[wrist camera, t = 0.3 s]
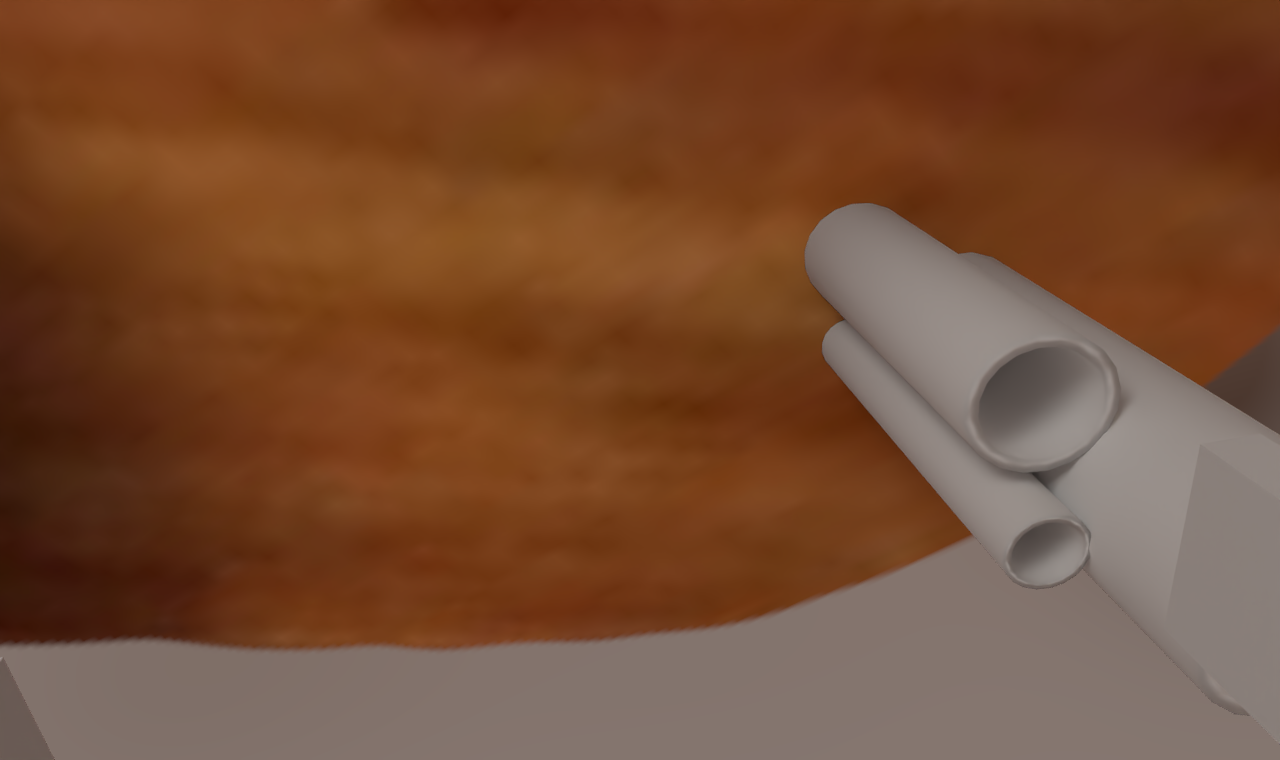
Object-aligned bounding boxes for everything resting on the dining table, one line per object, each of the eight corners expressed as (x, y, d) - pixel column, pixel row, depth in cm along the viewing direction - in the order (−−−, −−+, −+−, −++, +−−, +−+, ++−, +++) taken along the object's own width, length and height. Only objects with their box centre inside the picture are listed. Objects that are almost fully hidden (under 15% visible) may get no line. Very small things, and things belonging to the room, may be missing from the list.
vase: (1050, 281, 42) (1487, 542, 24) (964, 418, 44) (1305, 749, 27) (835, 184, 38) (1163, 408, 21) (755, 340, 41) (987, 662, 23)
